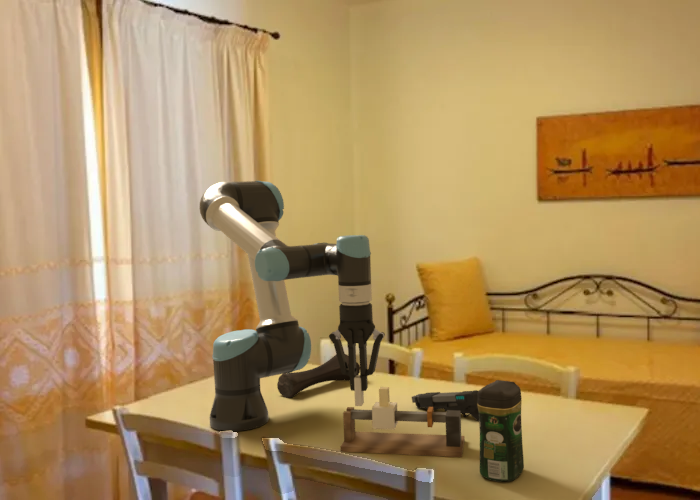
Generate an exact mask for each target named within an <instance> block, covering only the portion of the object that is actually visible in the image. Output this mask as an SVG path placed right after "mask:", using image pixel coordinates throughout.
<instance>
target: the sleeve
mask: <svg viewBox="0 0 700 500" xmlns="http://www.w3.org/2000/svg"><path fill="white" fill-rule="evenodd" d="M378 398H379V399H378V401H375V402H374V404H373V406H372V407H371V410H372V420H371V422H372V425H371V426H372V430H373V429H374V430H395V429H396V428H397V426H398V424H399V423H398V422H399V421H395V411H398V402H396V401H394V402H392V401H391V402H390V386H380V387H379V388H378Z"/></svg>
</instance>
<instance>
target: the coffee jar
mask: <svg viewBox="0 0 700 500" xmlns="http://www.w3.org/2000/svg"><path fill="white" fill-rule="evenodd" d="M477 391H478V393H477V395H478V404H477V405H478V411H479V421H478V422H479V473H480V476H482V477H484V478H485V479H487V480H489V481H491V482H492V481H493V482H497V483H500V482H512V481H514V480H516V479H517V478H519V476H520V475H521V474H522V473H523V471H524V469H525V468H524V466H525V463H524V460H525V459H524V449H523V447H524V446H523V430H522V401H523V400H522V391H521V387H520V386H519V385H518V384H516V382H515V381H510V380H509V381H508V380H499V379H497V380H496V379H495V381H493V382H490V383H488V384H487V385H485V386H483V387H482V388H480V389H479V390H477Z"/></svg>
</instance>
